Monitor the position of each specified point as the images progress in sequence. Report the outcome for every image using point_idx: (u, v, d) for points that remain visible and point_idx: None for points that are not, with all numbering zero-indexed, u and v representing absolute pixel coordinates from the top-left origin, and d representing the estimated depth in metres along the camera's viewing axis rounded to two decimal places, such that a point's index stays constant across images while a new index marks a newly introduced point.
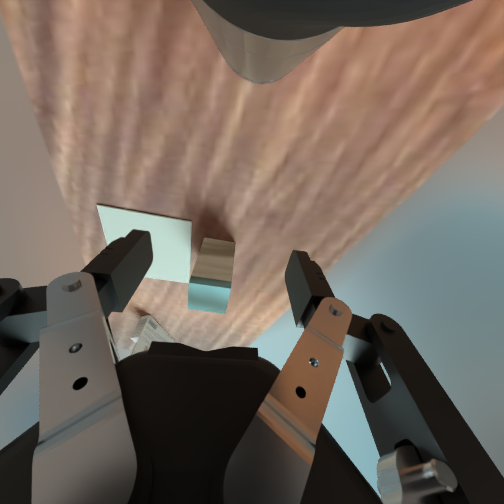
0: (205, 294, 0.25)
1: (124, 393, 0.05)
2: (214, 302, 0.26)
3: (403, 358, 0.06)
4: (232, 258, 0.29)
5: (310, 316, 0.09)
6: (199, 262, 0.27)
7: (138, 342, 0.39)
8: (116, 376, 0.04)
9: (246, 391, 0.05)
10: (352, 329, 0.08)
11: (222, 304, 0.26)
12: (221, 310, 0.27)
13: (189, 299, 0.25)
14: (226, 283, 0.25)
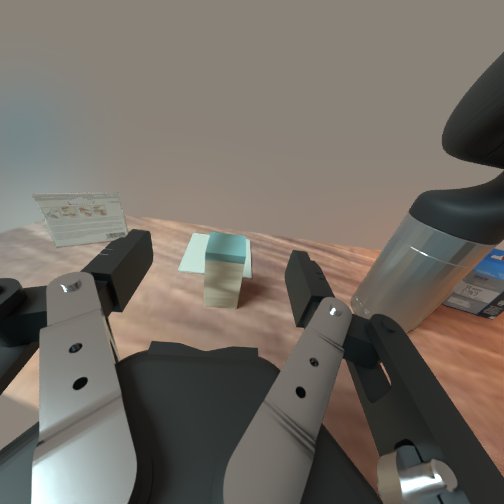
0: (234, 242, 0.27)
1: (124, 393, 0.05)
2: (223, 246, 0.26)
3: (403, 358, 0.06)
4: None
5: (310, 316, 0.09)
6: None
7: (119, 211, 0.36)
8: (116, 376, 0.04)
9: (246, 391, 0.05)
10: (352, 329, 0.08)
11: (221, 250, 0.25)
12: (211, 249, 0.25)
13: (225, 234, 0.28)
14: None
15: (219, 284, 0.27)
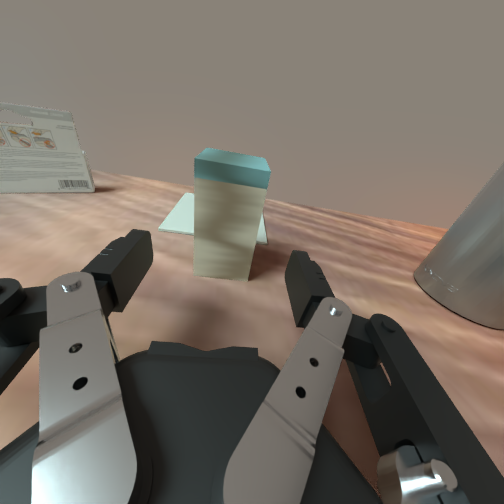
0: (246, 159, 0.16)
1: (124, 393, 0.05)
2: (228, 159, 0.14)
3: (403, 358, 0.06)
4: None
5: (310, 316, 0.09)
6: None
7: (76, 145, 0.25)
8: (116, 376, 0.04)
9: (246, 391, 0.05)
10: (352, 329, 0.08)
11: (224, 161, 0.13)
12: (205, 157, 0.13)
13: (230, 152, 0.17)
14: None
15: (220, 232, 0.16)
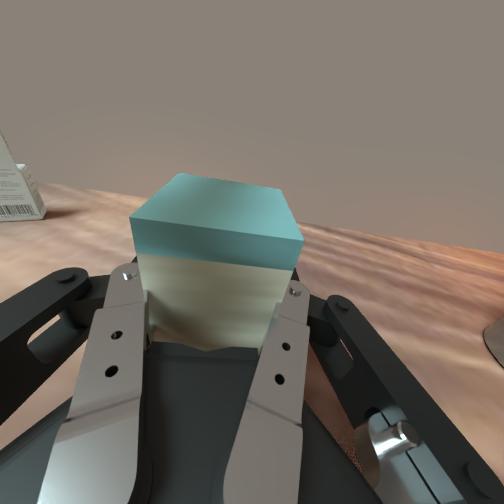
0: (249, 198, 0.08)
1: (146, 392, 0.05)
2: (213, 205, 0.07)
3: (359, 333, 0.07)
4: None
5: None
6: None
7: (6, 158, 0.18)
8: (141, 374, 0.04)
9: (246, 391, 0.05)
10: (310, 309, 0.08)
11: (202, 217, 0.06)
12: (160, 211, 0.06)
13: (221, 180, 0.10)
14: None
15: (202, 333, 0.09)
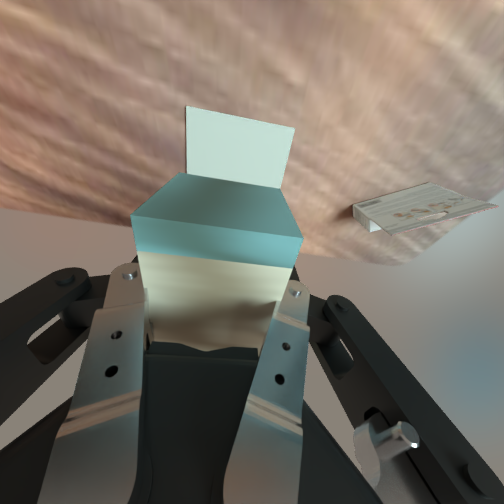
0: (249, 197, 0.08)
1: (146, 392, 0.05)
2: (213, 203, 0.07)
3: (359, 333, 0.07)
4: None
5: None
6: None
7: (377, 221, 0.26)
8: (141, 374, 0.04)
9: (246, 391, 0.05)
10: (310, 309, 0.08)
11: (202, 215, 0.06)
12: (160, 209, 0.06)
13: (221, 179, 0.10)
14: None
15: (202, 332, 0.09)
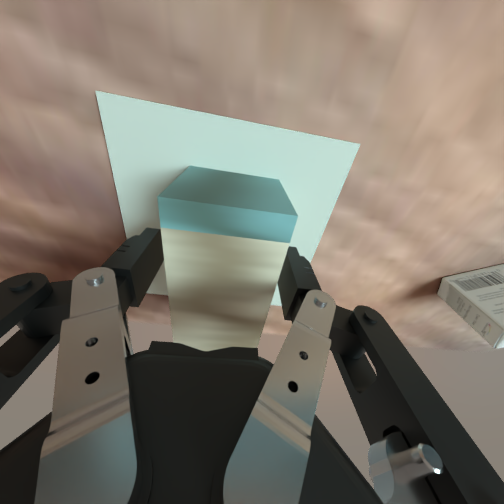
0: (252, 186, 0.10)
1: (132, 392, 0.05)
2: (222, 189, 0.08)
3: (386, 347, 0.07)
4: None
5: (297, 308, 0.09)
6: None
7: None
8: (126, 374, 0.04)
9: (246, 391, 0.05)
10: (336, 320, 0.08)
11: (214, 197, 0.08)
12: (180, 192, 0.07)
13: (226, 171, 0.11)
14: None
15: (212, 303, 0.10)
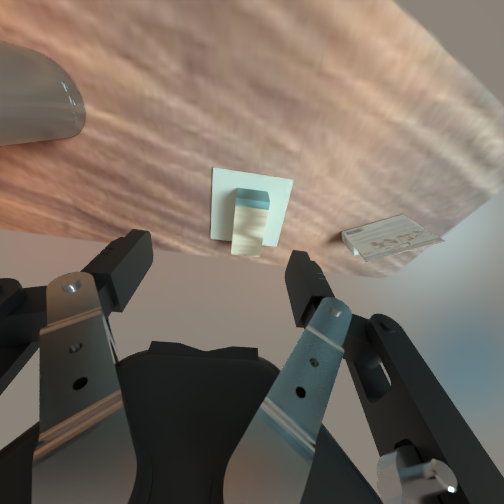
0: (258, 194, 0.32)
1: (124, 393, 0.05)
2: (250, 195, 0.30)
3: (403, 358, 0.06)
4: None
5: (310, 316, 0.09)
6: None
7: (358, 248, 0.33)
8: (116, 376, 0.04)
9: (246, 391, 0.05)
10: (352, 329, 0.08)
11: (248, 198, 0.30)
12: (240, 197, 0.29)
13: (250, 189, 0.33)
14: (268, 205, 0.30)
15: (246, 230, 0.32)
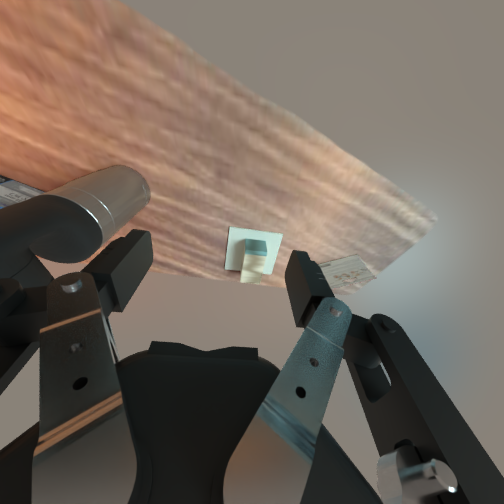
0: (259, 244, 0.48)
1: (124, 393, 0.05)
2: (254, 246, 0.47)
3: (403, 358, 0.06)
4: (262, 271, 0.49)
5: (310, 316, 0.09)
6: None
7: None
8: (116, 376, 0.04)
9: (246, 391, 0.05)
10: (352, 329, 0.08)
11: (253, 249, 0.46)
12: (248, 248, 0.45)
13: (253, 239, 0.49)
14: None
15: (251, 268, 0.48)
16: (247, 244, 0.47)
